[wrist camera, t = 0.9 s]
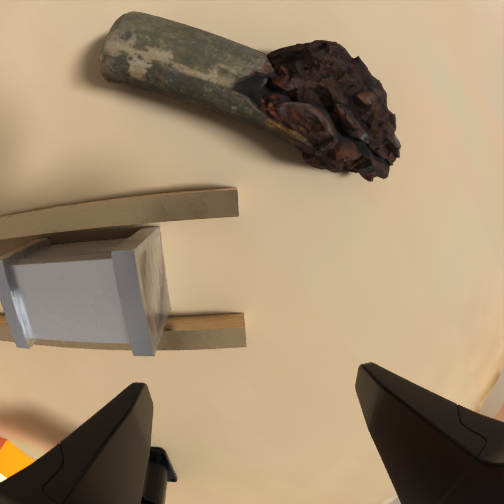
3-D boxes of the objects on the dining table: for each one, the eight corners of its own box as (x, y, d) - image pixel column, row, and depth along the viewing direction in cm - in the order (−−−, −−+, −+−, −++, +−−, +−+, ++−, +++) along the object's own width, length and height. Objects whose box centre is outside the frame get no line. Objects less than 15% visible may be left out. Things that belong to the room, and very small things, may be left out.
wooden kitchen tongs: (248, 392, 23) (259, 479, 14) (-42, 363, 20) (-77, 401, 12) (236, 187, 18) (244, 203, 10) (-81, 236, 16) (-131, 259, 8)
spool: (171, 308, 20) (154, 356, 15) (54, 310, 20) (17, 347, 14) (160, 226, 19) (133, 249, 13) (37, 238, 18) (-10, 261, 12)
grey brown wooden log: (114, 87, 16) (77, 62, 11) (161, 8, 15) (143, -35, 9) (355, 193, 19) (398, 202, 14) (390, 111, 18) (438, 97, 12)
